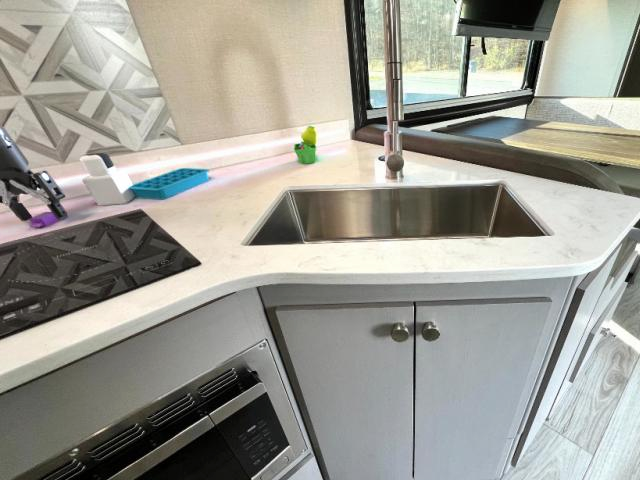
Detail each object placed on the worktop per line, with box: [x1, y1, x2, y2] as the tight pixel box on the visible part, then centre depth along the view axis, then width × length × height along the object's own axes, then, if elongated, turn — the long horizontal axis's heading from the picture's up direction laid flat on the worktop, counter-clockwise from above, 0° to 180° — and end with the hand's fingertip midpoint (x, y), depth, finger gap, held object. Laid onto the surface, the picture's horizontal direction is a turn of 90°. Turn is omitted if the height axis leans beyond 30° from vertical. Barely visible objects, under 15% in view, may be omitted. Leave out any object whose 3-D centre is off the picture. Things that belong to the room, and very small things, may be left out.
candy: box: [28, 211, 61, 228], centre depth 74 cm, size 3×7×2 cm, turn 1°
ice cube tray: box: [128, 167, 210, 200], centre depth 94 cm, size 12×20×3 cm, turn 165°
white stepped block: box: [79, 152, 137, 207], centre depth 84 cm, size 7×7×12 cm
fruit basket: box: [293, 125, 318, 165], centre depth 114 cm, size 11×9×11 cm
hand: (45, 219), depth 74 cm, fingers open, 8 cm apart
